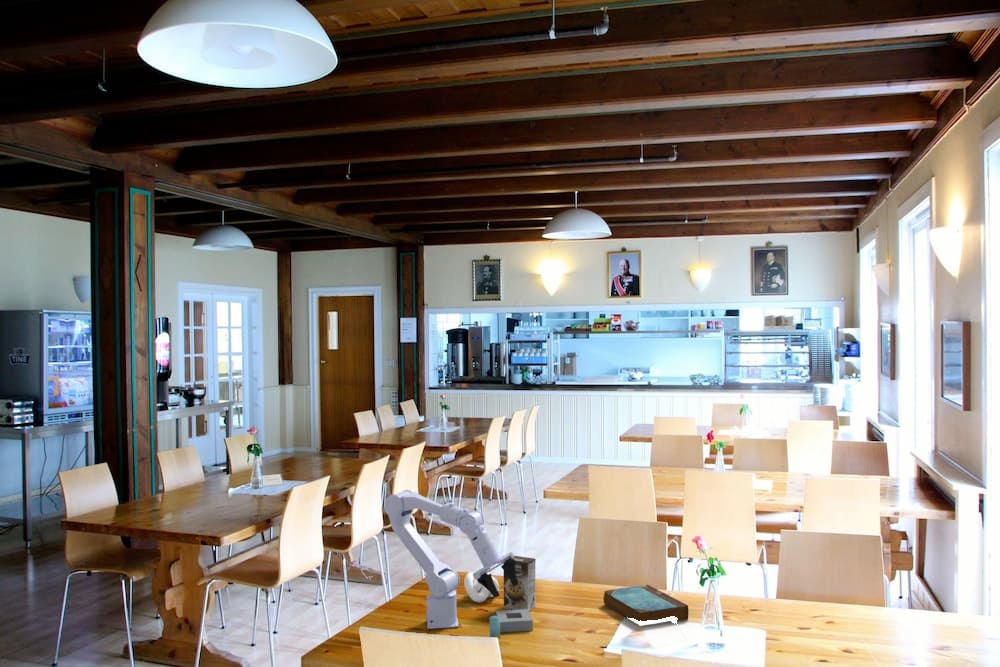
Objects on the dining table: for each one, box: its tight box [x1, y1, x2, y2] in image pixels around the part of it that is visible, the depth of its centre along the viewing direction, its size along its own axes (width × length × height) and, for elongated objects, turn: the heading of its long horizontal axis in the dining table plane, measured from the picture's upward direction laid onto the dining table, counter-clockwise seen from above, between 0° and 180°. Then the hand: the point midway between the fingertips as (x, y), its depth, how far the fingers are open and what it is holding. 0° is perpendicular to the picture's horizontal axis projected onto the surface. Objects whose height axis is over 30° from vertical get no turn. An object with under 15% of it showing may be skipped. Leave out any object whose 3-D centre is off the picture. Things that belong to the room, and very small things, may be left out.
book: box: [603, 584, 689, 621], centre depth 250 cm, size 23×18×5 cm
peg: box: [489, 615, 501, 640], centre depth 230 cm, size 3×3×6 cm
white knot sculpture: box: [463, 571, 500, 603], centre depth 266 cm, size 11×12×9 cm
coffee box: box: [503, 555, 537, 612], centre depth 256 cm, size 9×6×16 cm
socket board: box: [495, 609, 534, 633], centre depth 240 cm, size 10×10×3 cm
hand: (506, 590), depth 234 cm, fingers open, 7 cm apart
